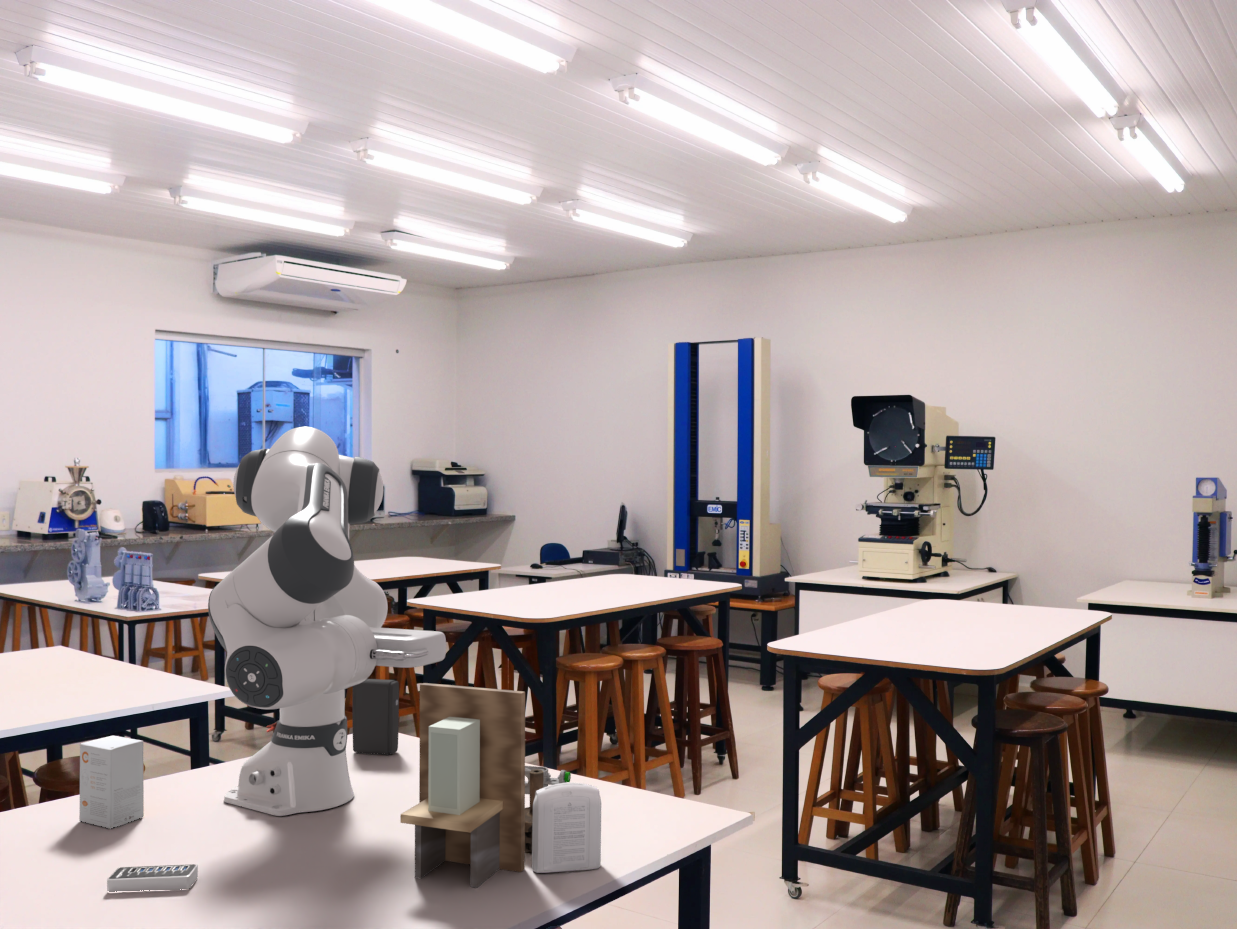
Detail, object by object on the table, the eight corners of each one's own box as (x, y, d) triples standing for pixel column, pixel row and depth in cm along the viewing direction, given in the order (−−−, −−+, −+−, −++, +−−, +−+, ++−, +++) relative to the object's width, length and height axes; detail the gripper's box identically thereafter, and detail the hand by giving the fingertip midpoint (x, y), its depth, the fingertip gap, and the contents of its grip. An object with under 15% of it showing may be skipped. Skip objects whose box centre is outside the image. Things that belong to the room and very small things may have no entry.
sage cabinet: (428, 811, 141) (428, 726, 141) (449, 797, 147) (449, 716, 147) (459, 815, 139) (459, 729, 139) (479, 801, 145) (479, 719, 145)
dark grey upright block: (401, 751, 206) (401, 679, 206) (393, 756, 202) (393, 683, 203) (359, 748, 208) (360, 677, 208) (351, 754, 204) (351, 681, 204)
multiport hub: (188, 892, 138) (189, 876, 138) (105, 896, 137) (106, 879, 137) (198, 879, 142) (198, 863, 142) (118, 883, 141) (118, 866, 141)
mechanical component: (567, 836, 159) (567, 773, 159) (505, 831, 161) (505, 769, 161) (571, 829, 161) (571, 768, 162) (511, 825, 164) (511, 764, 164)
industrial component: (511, 840, 157) (511, 764, 157) (556, 837, 158) (556, 762, 158) (515, 864, 147) (516, 783, 148) (564, 860, 149) (564, 780, 149)
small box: (144, 817, 167) (144, 740, 167) (110, 830, 161) (110, 749, 161) (112, 810, 170) (113, 734, 170) (78, 821, 165) (78, 743, 165)
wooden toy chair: (381, 882, 141) (382, 698, 141) (423, 853, 151) (423, 682, 151) (489, 900, 135) (489, 708, 135) (524, 869, 145) (525, 691, 146)
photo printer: (597, 859, 149) (598, 777, 149) (604, 870, 145) (604, 785, 145) (529, 865, 147) (530, 781, 147) (534, 876, 143) (534, 790, 143)
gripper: (413, 631, 119) (468, 615, 132) (272, 622, 126) (338, 608, 139) (413, 684, 119) (468, 663, 132) (272, 672, 126) (338, 653, 139)
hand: (401, 635), depth 135 cm, fingers open, 8 cm apart
